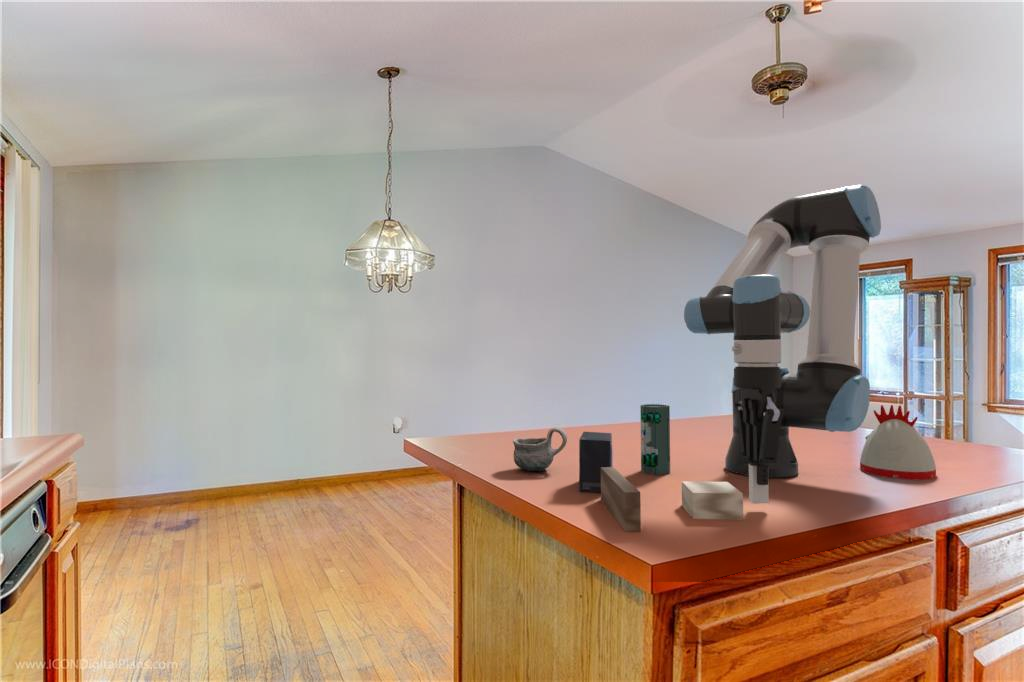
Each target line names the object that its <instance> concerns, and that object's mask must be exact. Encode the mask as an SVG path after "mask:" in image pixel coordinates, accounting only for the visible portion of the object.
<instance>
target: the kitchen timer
mask: <svg viewBox="0 0 1024 682" xmlns="http://www.w3.org/2000/svg"><path fill="white" fill-rule="evenodd" d="M902 409H903V408H902V405H898V407H897V411H896V413H895V410H894V406H893V404H891V405H890V408H889V411H888V414H887V412H886V410H885V407H884V405H883V404H882V405H880V413H878V412H877V411H876V410H875V409H873V413H874V416H875V418H876V420H877V421H878V423H879V424H878V425H877V426H876V427H874V429H872V431H871V432H870V433H869V434H868V435H866V436H865V442H864V445H863V448H862V451H861V453H860V457H859V469H860V471H862V472H864V473H866V474H869V475H873V476H878V477H885V478H891V479H901V480H931V479H935V478H936V477H937V468H936V462H935V459H934V456H933V454H932V450H931V449H930V446H929V443H928V442H927V441H926V439H925V437H924V436H923V434H921V432H920V431H919V430H917V429H916V427H915V426H914V425H915V424H916V422H917V420H918V419H919V418H918V416H916V417H914V419H913V420H912V421H909V416H910V412H911V411H910V410H908V411H906V412H905V414H903V410H902Z"/></svg>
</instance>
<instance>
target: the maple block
mask: <svg viewBox="0 0 1024 682" xmlns="http://www.w3.org/2000/svg"><path fill="white" fill-rule="evenodd" d="M681 506H682V507H683V509H685V510H686V512H687V513H688V514H689V516H690V517H691V518H692V519H693V520H742V521H743V520H744V494H743V492H741V490H739V489H738V488H736V487H735V486H733V485H732V484H731V483H730V482H728V481H693V480H692V481H689V480H688V481H686V480H685V481H681Z"/></svg>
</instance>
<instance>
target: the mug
mask: <svg viewBox="0 0 1024 682" xmlns="http://www.w3.org/2000/svg"><path fill="white" fill-rule="evenodd" d="M553 433H557V434H559V435H560V436H561V439H562V441H561V442H562V443H561V445H560V446H558V448H553V447H552V437H553ZM512 442H513V445H514V449H513V462H514V464H515V465H516V466H517V467H518V468H519V469H521V470H524V471H530V472H538V471H539V472H540V471H544V470H546V469H547V468H549V467H550V465H551V464H552V463H553V461H554V457H555V456H556V455H558V454H559V453H560V452H561V451H563V449H564V448H565V446H566V445H567V442H568V436H567V433H566V431H565V430H564V429H562V428H561V427H551V428H550V429H549V430H548V432H547V435H546V437H537V438H536V437H531V438H529V437H522V438H520V437H519V438H514V439H512Z"/></svg>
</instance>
